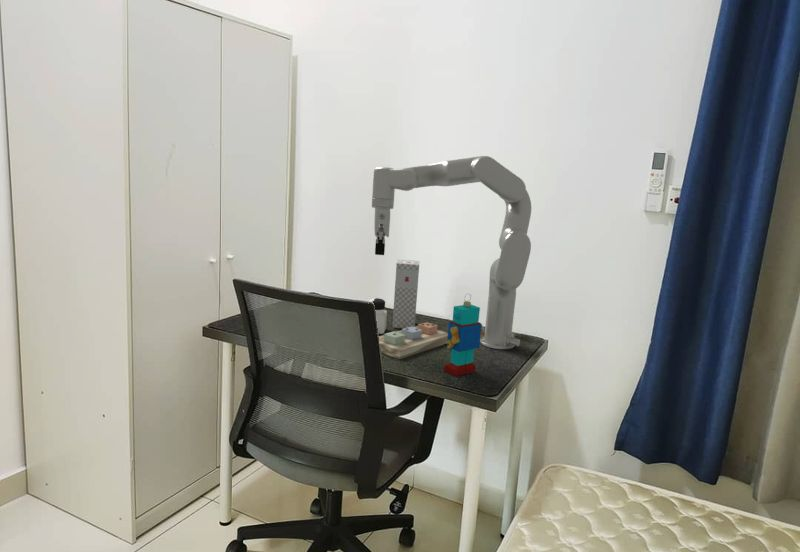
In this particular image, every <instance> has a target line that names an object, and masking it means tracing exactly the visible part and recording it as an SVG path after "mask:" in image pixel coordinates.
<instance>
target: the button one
mask: <svg viewBox="0 0 800 552" xmlns="http://www.w3.org/2000/svg"><path fill="white" fill-rule="evenodd" d="M383 335H384V342H385V343H388V344H391V345H394V346H396V345H399V344H403V343H405V335H404V334H401V333H398V332H397V331H394V330H393V331H391V332H386V333H384V334H383Z"/></svg>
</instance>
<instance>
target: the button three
mask: <svg viewBox="0 0 800 552" xmlns="http://www.w3.org/2000/svg"><path fill="white" fill-rule="evenodd" d="M417 326H418V329H420V330H422V333H423V334H426V335H432V334H435V333H437V330H438V324H434V323H432V322H428V321H426V322H422V323H419V324H417Z"/></svg>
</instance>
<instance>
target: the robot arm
mask: <svg viewBox="0 0 800 552" xmlns="http://www.w3.org/2000/svg"><path fill="white" fill-rule="evenodd" d="M372 179H373V180H372V194H371V195H372V197H371V198H372V199H371V208H373V209H374V221H373V222H374V223H373V224H374V227H373V229H374V236H375V237H376V239H375V246H374V247H375V248H374V254H375V255H376V256H384V255H385V252H386V251H385V249H386V239H385V237H386V238H389V237H390V227H391V210H392V209H394V206H395V205H394V204H395V193H396V192H395V191H396V190H399V191H400V190H401V191H406V192H409V191H412V190H413V189H419V188H425V187H437V186H438V187H452V186H458V185H467V184H474V183H481V184H483V185H484V186H485V187H486V188H488V189H489V190H491V191H492V192H493V193H495V194H497V195H498V197H499V198H501V199H502V200H504V201H503V202H504V203H505V207H506V208H505V215H504V221H503V225H502V230H501V233H500V235H499V239H498V244H499V249H500V250H501V251H500V255H499V258H497V259H495V261H493V263H492V264H491V266H490V269H489V282H488V284H489V286H488V287H489V288H488V300H487V309H486V320H485V329H484V334H483V338H482V339H480V344H481V345H482V346H484V347H487V348H489V349H496V350H511V349H513V348H514V347H515V346H516V347H519V346H520V345H521V339H518V338H515V333H513V324H514V316H515V315H514V313H515V308H516V307H515V306H516V297H517V289H518V288H519V287H520V286H521V285H522V283H523V280H524V278H525V274H526V272H527V271H526V270H527V267H528V263H529V260H530V259H529V258H530V254H531V251H532V250H531V249H532V241H531V239H530V237H529V236H528V231H529V226H530V225H529V224H530V220H531V215H532V200H531V196H530V195H529V192H528V190H527V188H526V183H525V182H524V180H523V179H522V178H520V177H519V176H518V175H516V174H515V173H513V172H512V171H510V170H509V169H508V168H507V167H505V166H504V165H502V164H501V163H500V162H499V161H497V160H495V158H492V157H491V156H489V155H480V156H473V157H467V158H459V159H451V160H450V159H449V160H446V161H440V162H439V161H438V162H437V163H432V164H425V165H418V166H412V167H411V166H410V167H404V168H403V167H402V168H393V167H387V166H385V167H384V166H377V167H375V168H374V170H373V178H372Z"/></svg>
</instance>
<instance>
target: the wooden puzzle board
mask: <svg viewBox="0 0 800 552" xmlns="http://www.w3.org/2000/svg"><path fill="white" fill-rule="evenodd" d="M414 328H417V329H418V325H415V327H414ZM396 332H398V333H402V329H401V330H397V331H396ZM378 337H379V344H380V348H381V352H380V353H382V354H384V355H387V356H388V357H391V358H395V359H397V360H402V359H406V358H408V357H410V356H413V355H417V354H420V353H423V352H425V351H428V350H431V349H435V348H436V347H437V348H438V347H440V346H443V345H447V344H446V341H447V338H448V332H446V331H442V330H439V329H437V333H435V334H432V335H426V334H423V333H422V336H421V338H419V339H416V340H409V339H406V338H405V343H403V344H399V345H396V346H394V345H391V344H388V343H385V342H384V334H382V335H380V336H378Z"/></svg>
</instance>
